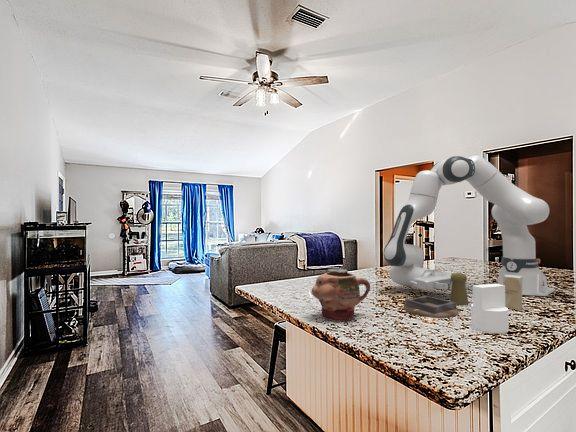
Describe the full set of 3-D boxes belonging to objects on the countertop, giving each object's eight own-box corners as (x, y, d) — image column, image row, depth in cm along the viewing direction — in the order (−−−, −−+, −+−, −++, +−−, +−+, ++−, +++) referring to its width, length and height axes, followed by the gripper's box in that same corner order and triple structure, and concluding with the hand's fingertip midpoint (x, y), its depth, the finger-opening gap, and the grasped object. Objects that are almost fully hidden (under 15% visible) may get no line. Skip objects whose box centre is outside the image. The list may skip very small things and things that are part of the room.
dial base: (425, 301, 121) (425, 293, 121) (469, 312, 106) (469, 303, 106) (393, 307, 112) (393, 299, 112) (436, 321, 98) (436, 311, 98)
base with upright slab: (491, 335, 86) (490, 290, 86) (464, 324, 94) (463, 283, 94) (516, 331, 88) (516, 287, 88) (487, 321, 97) (487, 281, 97)
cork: (471, 306, 113) (470, 274, 113) (452, 305, 115) (452, 274, 115) (465, 301, 119) (464, 272, 119) (447, 301, 120) (447, 271, 121)
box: (502, 308, 111) (502, 275, 111) (504, 305, 114) (504, 274, 114) (521, 310, 107) (520, 277, 107) (523, 308, 110) (522, 275, 110)
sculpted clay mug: (358, 308, 112) (358, 268, 112) (379, 318, 101) (379, 274, 101) (305, 314, 106) (305, 272, 106) (322, 326, 94) (321, 278, 94)
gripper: (406, 274, 125) (438, 279, 113) (440, 269, 135) (472, 274, 123) (406, 290, 125) (438, 297, 113) (440, 284, 135) (473, 290, 123)
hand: (456, 285), depth 118 cm, fingers open, 8 cm apart
